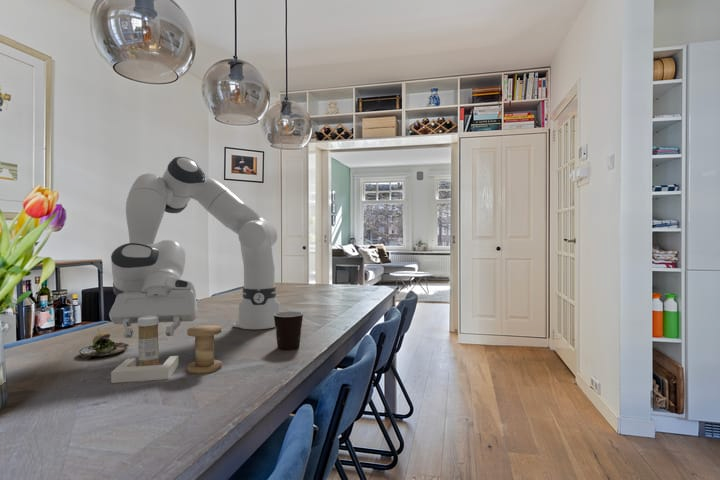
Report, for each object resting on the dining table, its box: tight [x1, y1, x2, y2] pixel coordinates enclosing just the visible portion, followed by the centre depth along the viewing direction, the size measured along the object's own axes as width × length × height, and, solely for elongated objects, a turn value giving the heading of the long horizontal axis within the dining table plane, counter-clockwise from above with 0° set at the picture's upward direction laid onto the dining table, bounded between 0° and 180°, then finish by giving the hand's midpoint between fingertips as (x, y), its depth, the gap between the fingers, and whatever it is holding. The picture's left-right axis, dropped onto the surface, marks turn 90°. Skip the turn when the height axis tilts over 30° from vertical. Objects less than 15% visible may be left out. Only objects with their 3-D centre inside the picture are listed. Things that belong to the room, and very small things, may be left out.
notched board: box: [110, 355, 179, 384], centre depth 95 cm, size 10×12×2 cm
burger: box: [78, 329, 130, 361], centre depth 112 cm, size 12×12×8 cm
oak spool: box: [186, 324, 223, 375], centre depth 99 cm, size 8×8×10 cm
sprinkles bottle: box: [137, 316, 160, 366], centre depth 97 cm, size 5×5×14 cm
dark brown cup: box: [274, 310, 304, 351], centre depth 120 cm, size 12×9×10 cm
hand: (148, 335), depth 97 cm, fingers open, 8 cm apart
